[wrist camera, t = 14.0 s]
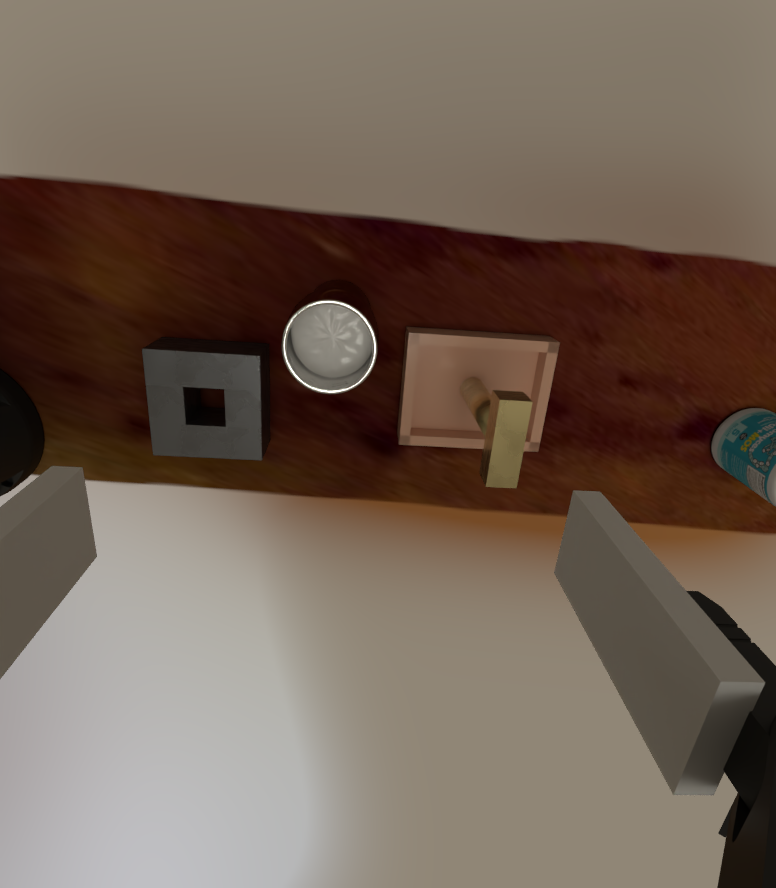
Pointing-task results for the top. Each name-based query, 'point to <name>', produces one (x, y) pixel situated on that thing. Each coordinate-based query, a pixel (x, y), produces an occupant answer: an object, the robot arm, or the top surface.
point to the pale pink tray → (450, 363)
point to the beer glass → (331, 338)
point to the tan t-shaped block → (499, 430)
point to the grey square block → (179, 403)
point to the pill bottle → (749, 450)
